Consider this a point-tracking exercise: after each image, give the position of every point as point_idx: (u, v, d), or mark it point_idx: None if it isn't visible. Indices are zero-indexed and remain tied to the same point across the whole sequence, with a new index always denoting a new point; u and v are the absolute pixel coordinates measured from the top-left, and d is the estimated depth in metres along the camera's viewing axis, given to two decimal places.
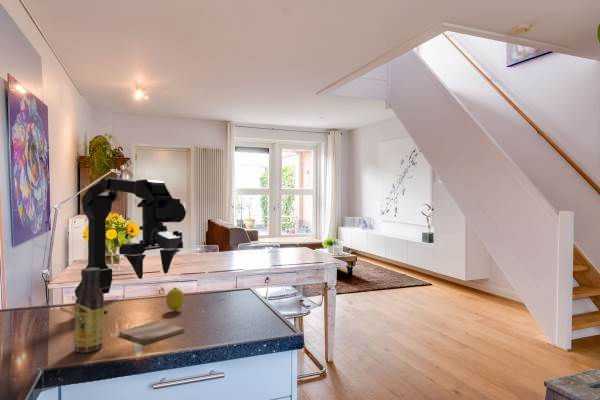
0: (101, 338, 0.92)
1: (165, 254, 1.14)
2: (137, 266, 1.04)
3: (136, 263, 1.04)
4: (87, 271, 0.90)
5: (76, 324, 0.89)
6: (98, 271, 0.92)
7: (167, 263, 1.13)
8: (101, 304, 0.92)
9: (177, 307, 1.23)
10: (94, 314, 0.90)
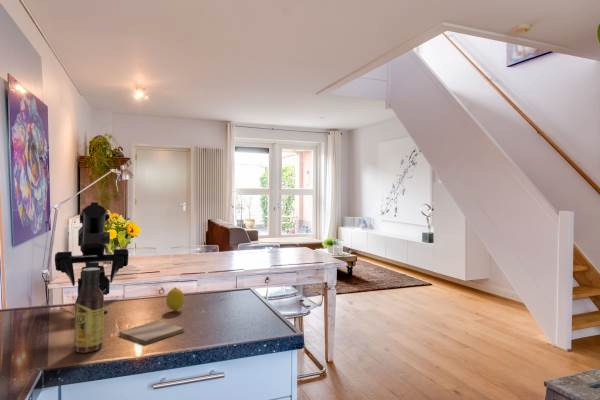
0: (101, 338, 0.92)
1: None
2: (69, 273, 1.04)
3: None
4: (87, 271, 0.90)
5: (76, 324, 0.89)
6: (98, 271, 0.92)
7: (111, 271, 1.08)
8: (101, 304, 0.92)
9: (177, 307, 1.23)
10: (94, 314, 0.90)
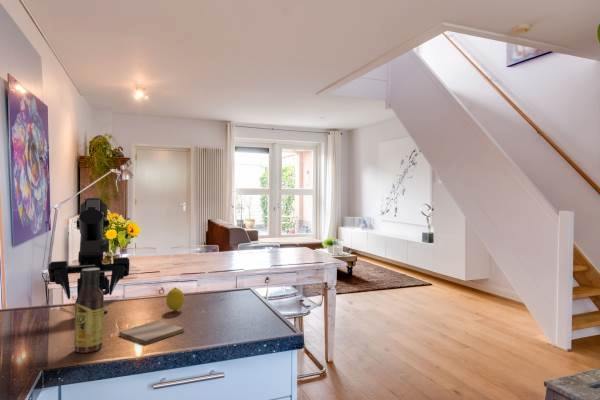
0: (101, 338, 0.92)
1: None
2: (64, 285, 0.95)
3: None
4: (87, 271, 0.90)
5: (76, 324, 0.89)
6: (98, 271, 0.92)
7: (110, 282, 0.99)
8: (101, 304, 0.92)
9: (177, 307, 1.23)
10: (94, 314, 0.90)
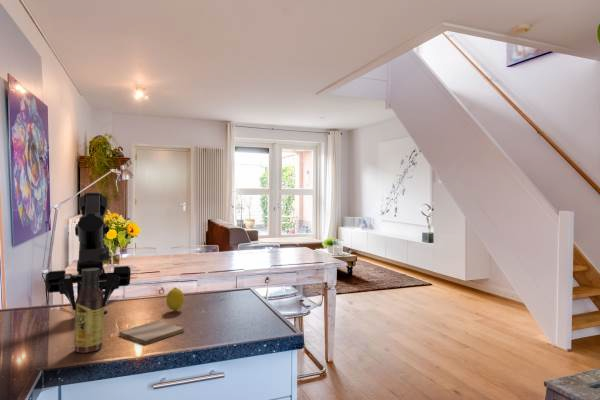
0: (101, 338, 0.92)
1: None
2: (68, 295, 0.91)
3: None
4: (87, 271, 0.90)
5: (76, 324, 0.89)
6: (98, 271, 0.92)
7: None
8: (101, 304, 0.92)
9: (177, 307, 1.23)
10: (93, 314, 0.90)
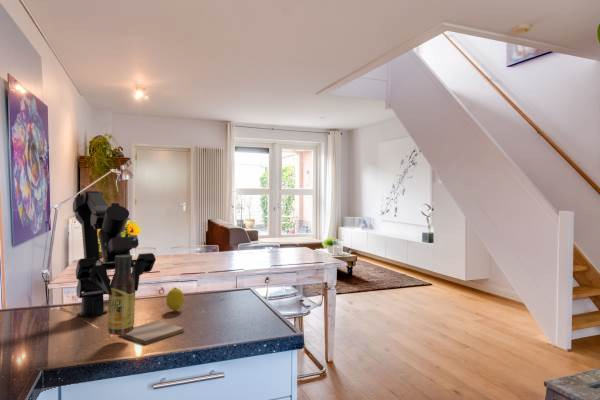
0: (133, 321, 0.97)
1: (133, 273, 1.01)
2: (102, 281, 0.95)
3: (101, 280, 0.95)
4: (122, 257, 0.95)
5: (112, 308, 0.94)
6: (131, 257, 0.97)
7: (135, 278, 0.99)
8: (134, 288, 0.97)
9: (177, 307, 1.23)
10: (129, 297, 0.95)
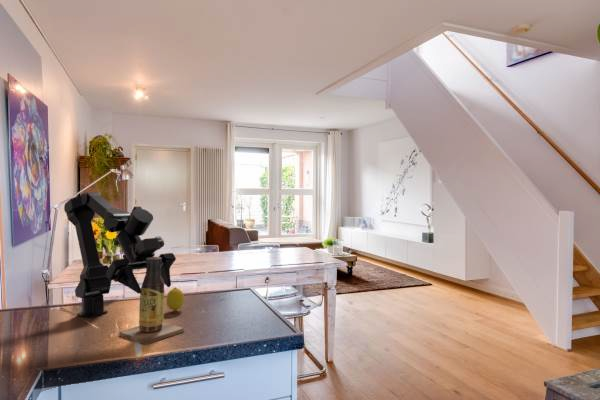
0: None
1: (161, 271, 1.09)
2: (130, 281, 0.99)
3: (129, 280, 1.00)
4: (155, 259, 1.02)
5: (146, 307, 1.00)
6: (161, 259, 1.04)
7: (166, 276, 1.07)
8: None
9: (177, 307, 1.23)
10: (161, 296, 1.03)
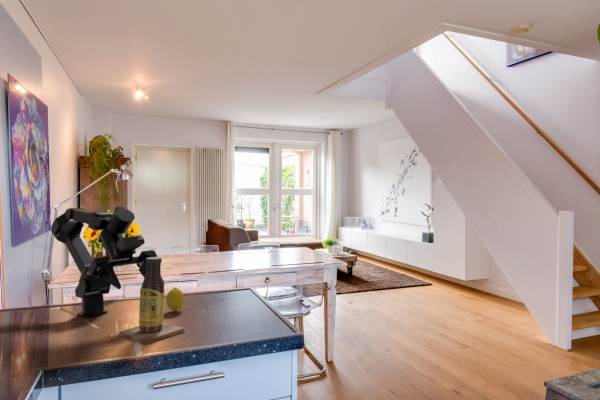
0: None
1: (142, 267, 1.15)
2: (111, 277, 1.05)
3: (109, 276, 1.05)
4: (155, 259, 1.02)
5: (146, 307, 1.00)
6: (161, 259, 1.04)
7: None
8: None
9: (177, 307, 1.23)
10: (161, 296, 1.03)
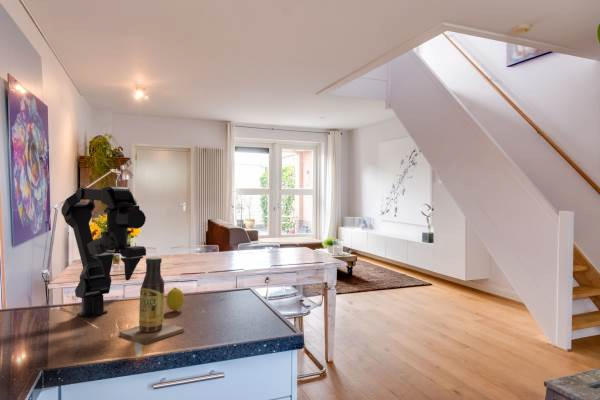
0: None
1: None
2: None
3: None
4: (155, 259, 1.02)
5: (146, 307, 1.00)
6: (161, 259, 1.04)
7: None
8: None
9: (177, 307, 1.23)
10: (161, 296, 1.03)
